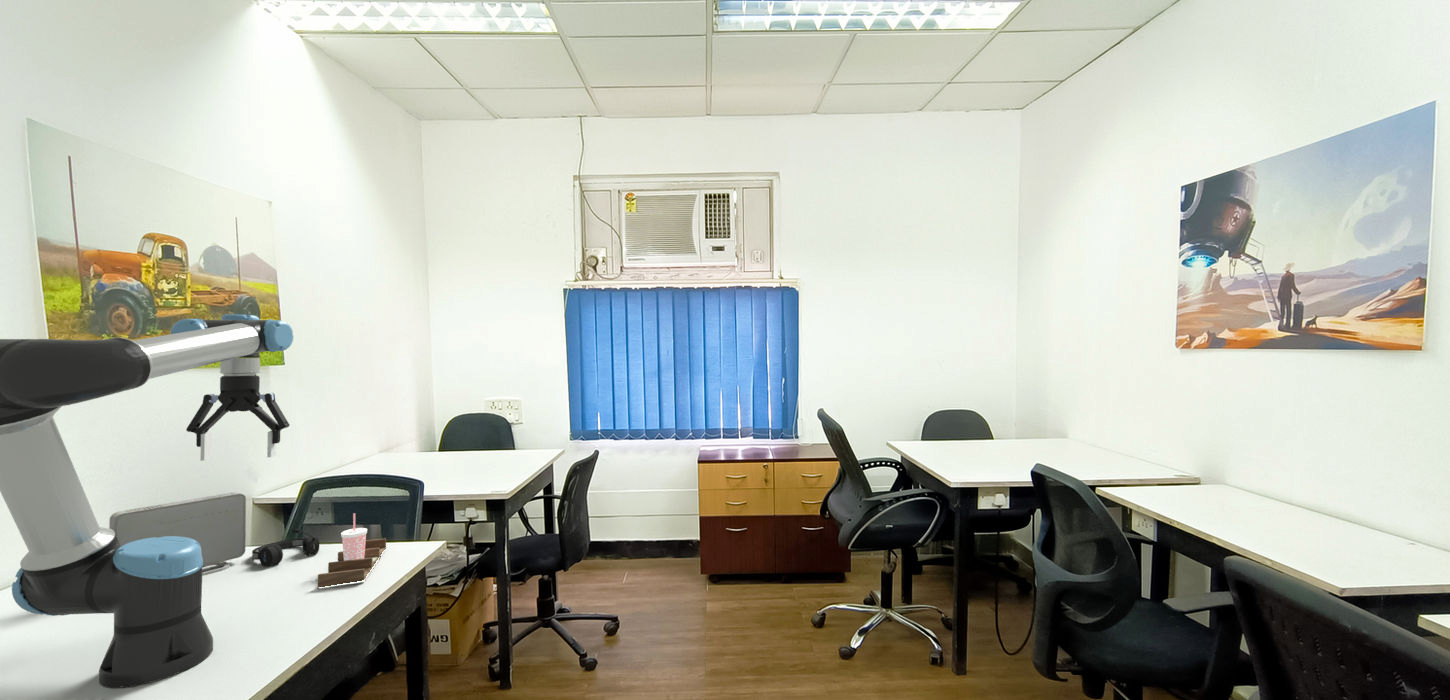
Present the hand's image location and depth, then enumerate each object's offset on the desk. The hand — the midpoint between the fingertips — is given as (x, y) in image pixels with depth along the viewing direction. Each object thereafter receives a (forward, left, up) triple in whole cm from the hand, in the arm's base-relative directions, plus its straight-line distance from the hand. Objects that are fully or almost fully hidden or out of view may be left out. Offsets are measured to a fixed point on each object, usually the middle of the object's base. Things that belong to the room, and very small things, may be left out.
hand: (239, 458), depth 137 cm
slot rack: (+5, -24, -33) cm, 41 cm away
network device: (+15, +18, -34) cm, 41 cm away
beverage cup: (+5, -24, -32) cm, 40 cm away
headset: (+23, -3, -34) cm, 41 cm away
